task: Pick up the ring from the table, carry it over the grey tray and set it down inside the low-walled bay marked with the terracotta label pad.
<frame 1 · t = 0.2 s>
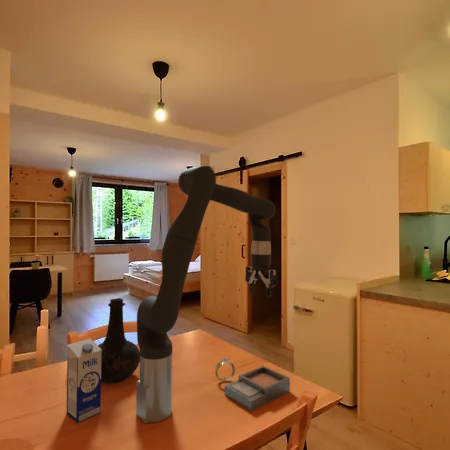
hand: (260, 295, 120), 28 cm above the table, tool pointing down, fingers open, 8 cm apart
ring: (224, 381, 111), on the table
glass bottle: (114, 378, 113), on the table
milk carton: (83, 414, 91), on the table
grey tray: (257, 393, 103), on the table
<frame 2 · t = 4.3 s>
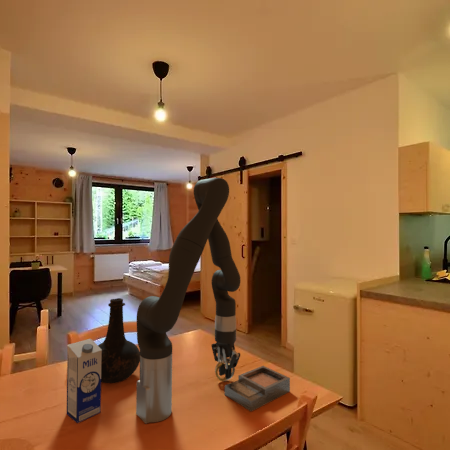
hand: (225, 376, 111), 2 cm above the table, tool pointing down, fingers closed on ring, 2 cm apart
ring: (224, 381, 111), on the table, touching gripper
everything else where it was.
when the fingers open (6 cm above the table, at t = 9.5 s): ring stays where it is, resting on grey tray.
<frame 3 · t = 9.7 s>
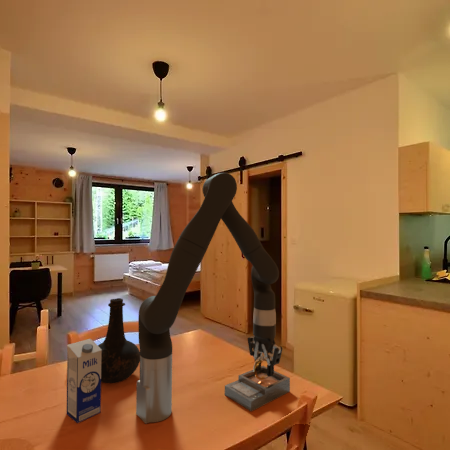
hand: (264, 372, 105), 6 cm above the table, tool pointing down, fingers open, 4 cm apart
ring: (263, 380, 105), point 3 cm above the table, touching grey tray
everything else where it was.
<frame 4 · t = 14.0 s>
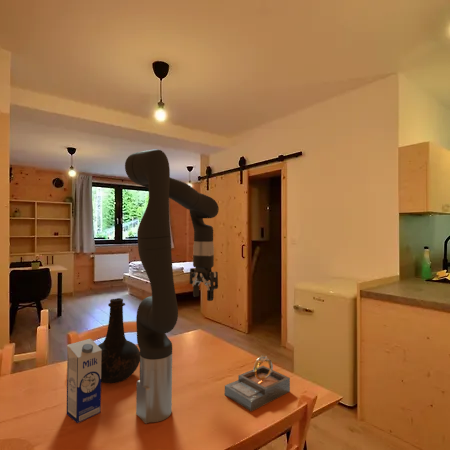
hand: (203, 298, 115), 28 cm above the table, tool pointing down, fingers open, 8 cm apart
nothing on the table moved.
at the end: ring inside the target area on the grey tray (0.4 cm from its centre), point 3.0 cm above the grey tray's base; the gripper is holding nothing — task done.
